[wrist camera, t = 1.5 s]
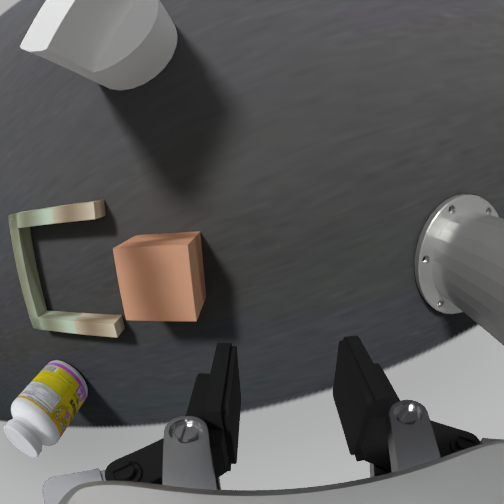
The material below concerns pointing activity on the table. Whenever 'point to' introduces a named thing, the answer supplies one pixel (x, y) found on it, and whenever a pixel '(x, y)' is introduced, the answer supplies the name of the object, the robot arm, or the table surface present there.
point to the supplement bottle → (46, 407)
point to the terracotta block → (161, 276)
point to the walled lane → (30, 278)
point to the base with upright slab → (105, 39)
